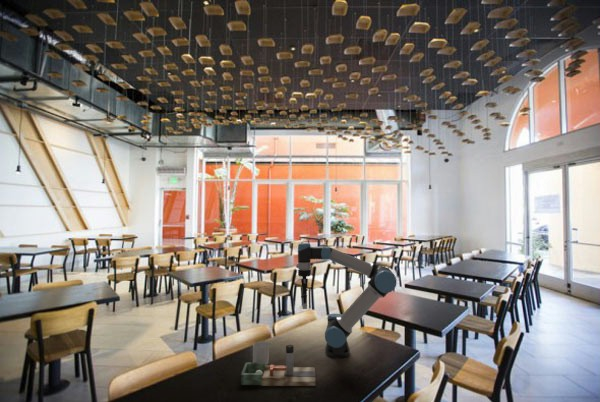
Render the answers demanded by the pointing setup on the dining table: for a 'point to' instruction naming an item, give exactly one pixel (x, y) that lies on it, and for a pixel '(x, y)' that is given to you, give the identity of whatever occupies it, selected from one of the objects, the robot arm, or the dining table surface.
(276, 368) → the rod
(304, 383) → the lane
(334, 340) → the robot arm
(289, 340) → the dining table surface
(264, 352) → the mug
